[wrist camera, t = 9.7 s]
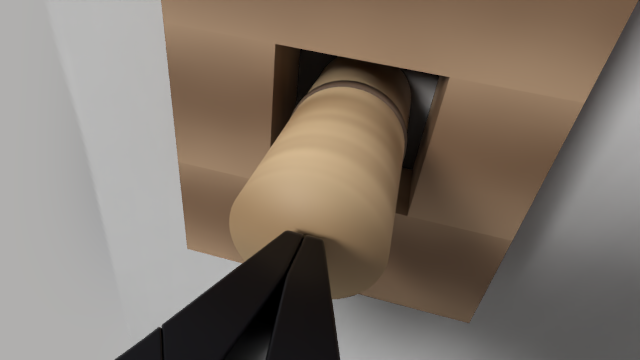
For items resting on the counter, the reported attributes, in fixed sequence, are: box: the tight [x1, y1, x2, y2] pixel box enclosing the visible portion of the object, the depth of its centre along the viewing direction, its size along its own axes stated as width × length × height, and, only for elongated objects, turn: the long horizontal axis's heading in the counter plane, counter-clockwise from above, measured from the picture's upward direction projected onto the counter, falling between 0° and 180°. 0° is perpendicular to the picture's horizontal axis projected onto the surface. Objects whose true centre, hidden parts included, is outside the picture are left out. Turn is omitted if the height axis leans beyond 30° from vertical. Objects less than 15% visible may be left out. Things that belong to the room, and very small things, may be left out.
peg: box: [229, 56, 411, 299], centre depth 12 cm, size 4×4×8 cm
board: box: [161, 0, 638, 323], centre depth 14 cm, size 14×12×3 cm
